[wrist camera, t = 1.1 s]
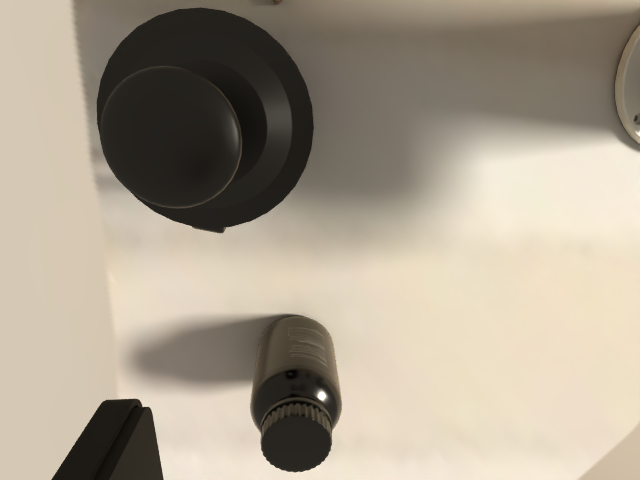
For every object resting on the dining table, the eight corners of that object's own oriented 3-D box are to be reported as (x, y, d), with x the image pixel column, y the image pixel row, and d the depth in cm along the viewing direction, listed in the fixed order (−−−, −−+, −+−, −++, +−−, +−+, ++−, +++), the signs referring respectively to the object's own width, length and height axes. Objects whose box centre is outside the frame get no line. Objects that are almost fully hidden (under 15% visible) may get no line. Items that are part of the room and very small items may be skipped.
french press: (195, 18, 33) (2, -115, 11) (322, 49, 34) (368, -19, 13) (174, 177, 37) (-4, 307, 15) (291, 201, 38) (283, 355, 16)
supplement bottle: (242, 343, 42) (222, 440, 30) (301, 299, 41) (302, 381, 29) (291, 392, 44) (290, 500, 32) (349, 351, 42) (368, 447, 31)
